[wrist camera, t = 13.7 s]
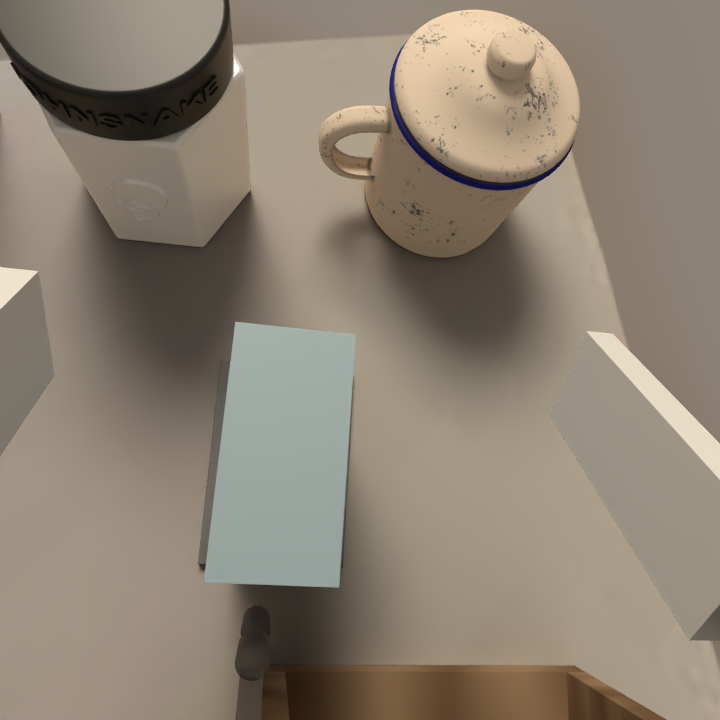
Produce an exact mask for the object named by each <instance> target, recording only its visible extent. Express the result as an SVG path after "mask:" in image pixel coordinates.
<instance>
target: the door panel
mask: <svg viewBox="0 0 720 720" xmlns="http://www.w3.org/2000/svg"><path fill="white" fill-rule="evenodd" d="M355 339H356V334H347V333H337V332H328V331H318V330H309V329H299V328H290V327H280V326H271V325H262V324H252V323H243V322H235V328H234V336H233V345H232V353H231V361H230V369H229V378H228V386H227V394H226V402H225V411H224V419H223V427H222V435H221V444H220V452H219V460H218V468H217V477H216V485H215V493H214V501H213V510H212V518H211V526H210V534H209V543H208V551H207V559H206V567H205V576H204V582H205V583H232V584H259V585H286V586H312V587H339V581H340V566H341V551H342V536H343V521H344V506H345V490H346V475H347V460H348V445H349V430H350V415H351V400H352V384H353V369H354V354H355Z"/></svg>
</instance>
